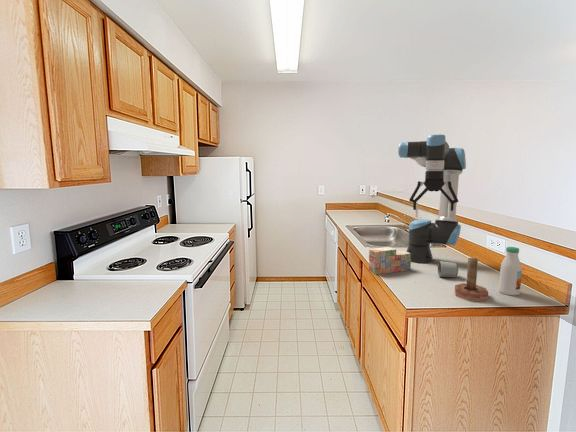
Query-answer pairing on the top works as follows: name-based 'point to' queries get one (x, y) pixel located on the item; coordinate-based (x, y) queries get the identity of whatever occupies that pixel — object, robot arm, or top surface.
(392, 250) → the stack of blocks
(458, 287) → the terracotta faceted ring
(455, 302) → the top surface
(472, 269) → the dowel
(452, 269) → the ceramic mug
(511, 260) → the milk bottle
